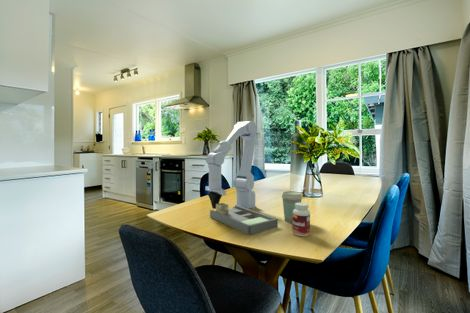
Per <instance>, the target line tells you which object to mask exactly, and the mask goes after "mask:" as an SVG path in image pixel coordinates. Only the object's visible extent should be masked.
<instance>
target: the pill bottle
mask: <svg viewBox="0 0 470 313" xmlns="http://www.w3.org/2000/svg"><path fill="white" fill-rule="evenodd" d="M295 208H296V209H294V210H293V222H292V223H291V224H292V230H291V231H292V234H293V235H295V236H298V237H307V236H309V235H310V233H311V232H310V231H311V211H310V210H309V203H307V202H303V201H301V202H299V203H295Z"/></svg>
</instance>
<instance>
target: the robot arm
mask: <svg viewBox="0 0 470 313" xmlns="http://www.w3.org/2000/svg"><path fill="white" fill-rule="evenodd" d="M257 131H258V126H257V124H256V122H255V121H254V120H247V121H237V122H236V124H235V125H234V126H233V129H232V131H231V133H230V134H229V135H228V136H227V138H226V140H221V141H219V143H218V145H217V146H216V148H214V149H213V151H212V152H209V153H208V154H207V156H206V158H205V161H206V163H207V168H208V185H206V186H205V189H204V190H205V191H207V196H208V197H209V200H210V204H211V208H212V210H216V204H219V203H220V200H221V198H222V197H223V196H225V195H227V193H226V190H225V189H224V188H222V165H223V164H224V162H225V158H226V156H227V155H228V153H229V152H230V151H231V149H232V145H233V144H234V143H235V141H237V139H239V137H241V138H242V139H243V140H244V146H243V152H242V158H241V162H240V169H239V171H238V172H236V173H235V177H234V179H233V182H232V184H233V187H234V188H235V190H236V205H237V206H240V207H243V208H246V209H249V210H251V209H255V208H257V206H256V192H255V191H254V190H253V189H254V186H255V181H254V180H255V177H254V174H253V173H252V171H251V170H252V166H253V165H252V164H253V160H254V154H255V147H256V142H257V133H258V132H257ZM232 208H235V205H233V206H232Z"/></svg>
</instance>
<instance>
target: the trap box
mask: <svg viewBox="0 0 470 313" xmlns="http://www.w3.org/2000/svg"><path fill="white" fill-rule="evenodd" d="M234 206H235V207H232V208H228V214H224V215H223V214H221V213H218V212H216V210H214V209H210V210H209V217H210V218H212V219H213V220H215V221H217V222H220V223H222V224H224V225H226V226H228V227H231V228H233V229H235V230H237V231H238V232H241V233H243V234H245V235H248V236H251V235H254V234H255V235H256V234H258V233H259V234H260V233H262V232H266V231H269V230H272V229H276V228H278V227H279V226H278V220H279V219H278V218H276V217H272V216H270V215H267V214H264V213H261V212H258V211H255V210H252V209H246V208H243V207H240V206H237V204H236V205H234Z"/></svg>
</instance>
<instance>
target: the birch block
mask: <svg viewBox="0 0 470 313" xmlns="http://www.w3.org/2000/svg"><path fill="white" fill-rule="evenodd" d="M228 209H229V204H227V203H225V202H219V204H216V209H215V211H216V212H218V213H221V214H223V215H224V214H228Z"/></svg>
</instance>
